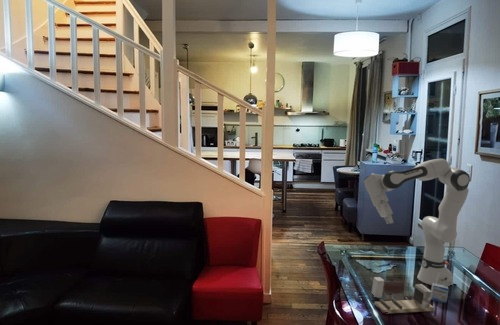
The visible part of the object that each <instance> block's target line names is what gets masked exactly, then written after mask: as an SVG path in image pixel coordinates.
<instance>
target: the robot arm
mask: <svg viewBox="0 0 500 325" xmlns="http://www.w3.org/2000/svg"><path fill="white" fill-rule="evenodd" d="M434 179H437V181H438V182H440V184H444V185H446V186H447V191H446V193H445V194H444V196H443V198H442V200H441V201H440V204H439V206H438V208H437V209H438V217H436V216H432V215H431V216H430V215H428V216H424V217H423V219H422V220H421V227H422V231H423V235H424V251H423V255H422V258H421V267H420V269H419V271H418V274H417V277H416V279H417V280H419V281H421V283H424V284H427V285H429V286H432V283H436V284H441V285H445V286H448V287H451V286H450V285H452V279H453V278H454V277H453V276H454V275H453V273H452V272H451V270H449V268H447V267H446V266H449V265H450V263H449V261H445V260H444V258H445V252H446V248H445V244H444V243H447V244H448V243H449V244H450V243H452V242H454V241H455V240H456V238H457V236H458V233H457V229H456V227H457V226H456V223H457V219H458V215H459V214H460V212H461V210H462V207H464V204H465V203H466V200H467V198H468V195H469V188H468V187H469V184H470V181H471V177H470V174H469V173H468V172H466V171H464V170H462V169H460V168H457V167H452V166H450V164H449V162H448V161H447V160H446V159H445V158H436V159H435V158H433V159H430V160H426V161H423V162H420V163H419V164H416V165H415V166H414V167H412V168H408V169H405V170H401V171H400V170H391V171H387V172H386V173H385V174H377V173H375V172H373V173H371V174H368V176H366V177H365V178H364V179H363V183H364V187H365V190H366V192H367V194H369V197H370V200H371V202H372V205H373V207H375V208H376V211H377V213H378V214H379V216H380V217H381V218H383V219H384V220H385V222H386V224H387V225H389V224H394V219H393V216H392V215H393V214H394V212H393V210H392V208H391V206H390V204H389V203H388V202H389V199H388V195H387V194H386V192H391V191H393V190H396V189H398V188H400V187H401V186H402V185H403V184H405V183H406V182H410V181H413V180H418V181H421V182H426V181H431V180H434ZM453 280H454V279H453ZM452 286H453V285H452Z"/></svg>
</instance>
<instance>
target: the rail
mask: <svg viewBox="0 0 500 325" xmlns="http://www.w3.org/2000/svg"><path fill="white" fill-rule="evenodd" d="M431 294H432V291H431V289H429V288H428V287H426V286H425V285H424V284H422V283H417V284H415V285H414V289H413V296H412V299H402V300H400V299H399V300H396V299H395V298H394V297H391V300H384V299H383V298H379V300H378V301H373V305H374V304H375V305H376V306H377V307H379V308H380V309H381V310H382V311H383V312H388V313H387V314H399V313H400V314H401V313H402V314H403V313H418V312H422V313H423V312H434V310H435V307H434V306H433V305H432V304H431V301H432V300H431Z"/></svg>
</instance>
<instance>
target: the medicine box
mask: <svg viewBox="0 0 500 325" xmlns="http://www.w3.org/2000/svg"><path fill="white" fill-rule="evenodd" d="M430 291H432V294H431V300H430V301H433V302H439V303H443V304H447V302H448V295H449V291H450V288H449V286H445V285H441V284H436V283H432V285H431V289H430Z"/></svg>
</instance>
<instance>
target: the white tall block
mask: <svg viewBox="0 0 500 325" xmlns="http://www.w3.org/2000/svg"><path fill="white" fill-rule="evenodd" d="M384 285H385V280H384V279H383V278H382V277H380V276H377V277H376V276H374V277H373V282H372V286H371V293H372V294H373V295H374V296H373V295H372V294H371V295H372V296H373V298H375V297H377V299H378V298H379V299H383V293H384V292H383V291H384Z"/></svg>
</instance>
